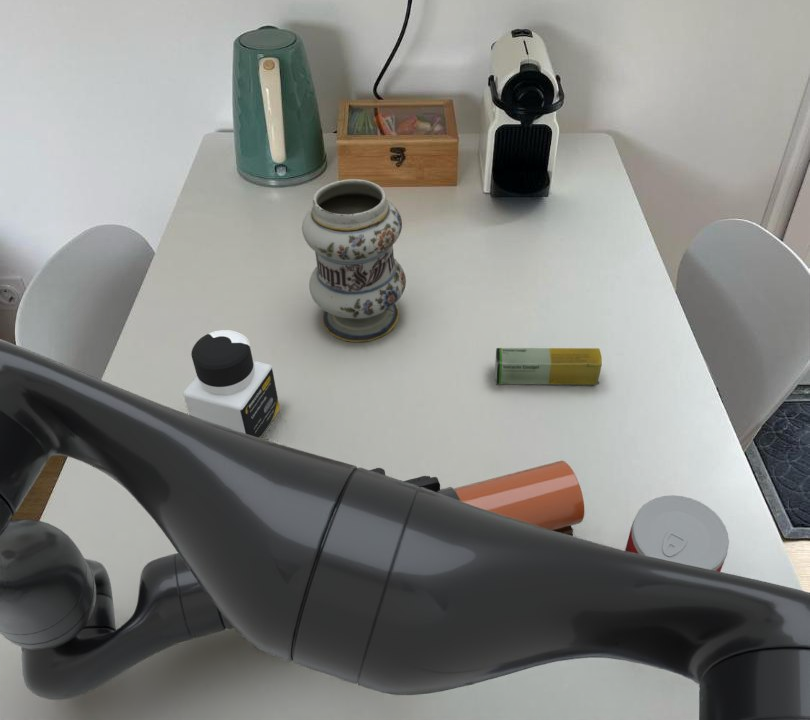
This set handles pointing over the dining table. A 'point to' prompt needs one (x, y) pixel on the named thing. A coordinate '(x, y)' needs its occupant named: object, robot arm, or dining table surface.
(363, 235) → the apothecary jar
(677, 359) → the dining table surface
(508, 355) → the medication box
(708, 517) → the canned food
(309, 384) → the dining table surface
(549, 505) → the jar
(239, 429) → the medicine bottle
